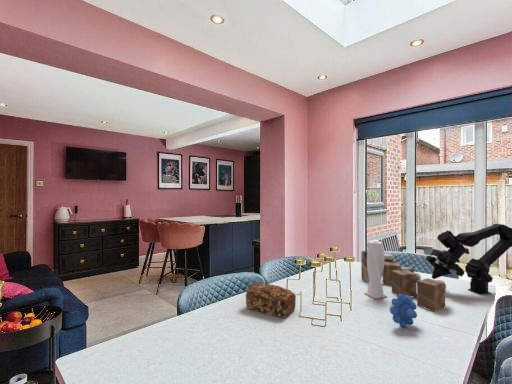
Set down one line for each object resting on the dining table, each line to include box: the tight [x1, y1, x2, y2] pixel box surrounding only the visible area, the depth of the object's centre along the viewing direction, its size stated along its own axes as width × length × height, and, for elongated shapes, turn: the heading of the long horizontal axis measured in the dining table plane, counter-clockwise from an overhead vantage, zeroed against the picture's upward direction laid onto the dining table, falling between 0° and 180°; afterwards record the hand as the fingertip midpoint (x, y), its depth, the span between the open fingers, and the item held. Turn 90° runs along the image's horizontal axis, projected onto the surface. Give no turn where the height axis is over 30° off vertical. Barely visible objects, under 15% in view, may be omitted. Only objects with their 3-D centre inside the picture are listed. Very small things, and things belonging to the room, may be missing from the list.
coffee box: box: [360, 250, 370, 284], centre depth 151 cm, size 9×6×16 cm
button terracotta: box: [435, 279, 447, 290], centre depth 119 cm, size 8×5×5 cm, turn 117°
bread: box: [245, 282, 297, 319], centre depth 114 cm, size 19×11×10 cm, turn 58°
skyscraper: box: [364, 237, 388, 300], centre depth 129 cm, size 8×8×28 cm
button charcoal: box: [401, 265, 415, 273], centre depth 146 cm, size 8×5×5 cm, turn 71°
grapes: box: [389, 294, 418, 328], centre depth 98 cm, size 12×7×12 cm, turn 107°
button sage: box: [414, 271, 422, 281], centre depth 132 cm, size 8×5×5 cm, turn 95°
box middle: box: [391, 270, 417, 298], centre depth 132 cm, size 8×7×10 cm
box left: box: [382, 261, 402, 286], centre depth 148 cm, size 8×7×10 cm
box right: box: [416, 278, 446, 312], centre depth 118 cm, size 8×7×10 cm
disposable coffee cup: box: [382, 252, 395, 276], centre depth 165 cm, size 10×10×12 cm
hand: (432, 278), depth 133 cm, fingers closed
